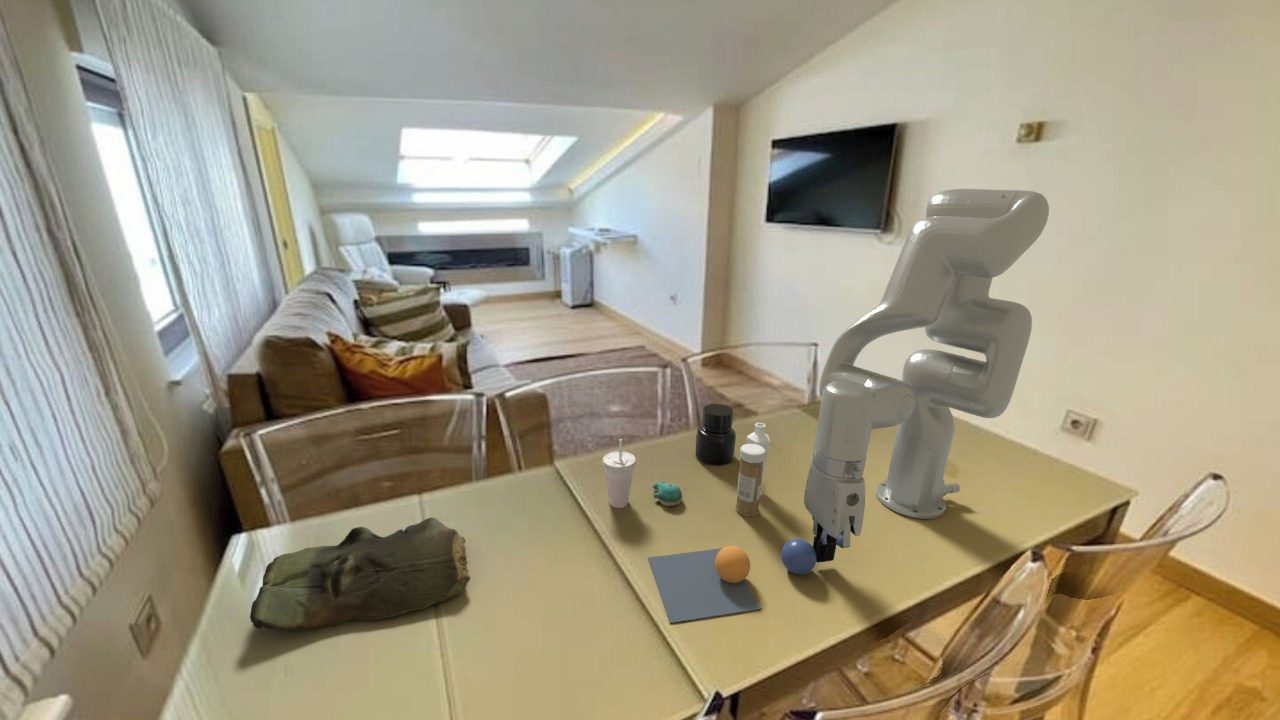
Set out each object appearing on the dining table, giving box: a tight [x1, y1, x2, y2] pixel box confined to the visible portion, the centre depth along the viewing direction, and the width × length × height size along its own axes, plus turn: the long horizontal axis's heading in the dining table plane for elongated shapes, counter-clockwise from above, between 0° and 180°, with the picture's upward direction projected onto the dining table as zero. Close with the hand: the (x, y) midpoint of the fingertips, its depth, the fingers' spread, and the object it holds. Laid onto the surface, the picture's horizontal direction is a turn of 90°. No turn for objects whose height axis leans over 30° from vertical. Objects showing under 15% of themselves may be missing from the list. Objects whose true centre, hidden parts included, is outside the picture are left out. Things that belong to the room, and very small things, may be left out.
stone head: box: [249, 517, 471, 631], centre depth 82 cm, size 19×8×28 cm
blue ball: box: [780, 537, 817, 576], centre depth 85 cm, size 6×6×6 cm
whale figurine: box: [652, 481, 683, 507], centre depth 105 cm, size 6×7×4 cm
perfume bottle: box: [746, 422, 771, 496], centre depth 106 cm, size 5×4×15 cm
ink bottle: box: [695, 403, 737, 466], centre depth 120 cm, size 10×9×12 cm
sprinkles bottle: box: [735, 443, 765, 517], centre depth 100 cm, size 5×5×14 cm
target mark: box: [647, 547, 762, 624], centre depth 83 cm, size 14×14×1 cm
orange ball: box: [715, 545, 751, 583], centre depth 83 cm, size 6×6×6 cm
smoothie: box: [602, 438, 637, 509], centre depth 101 cm, size 6×6×14 cm
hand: (822, 558), depth 87 cm, fingers closed
